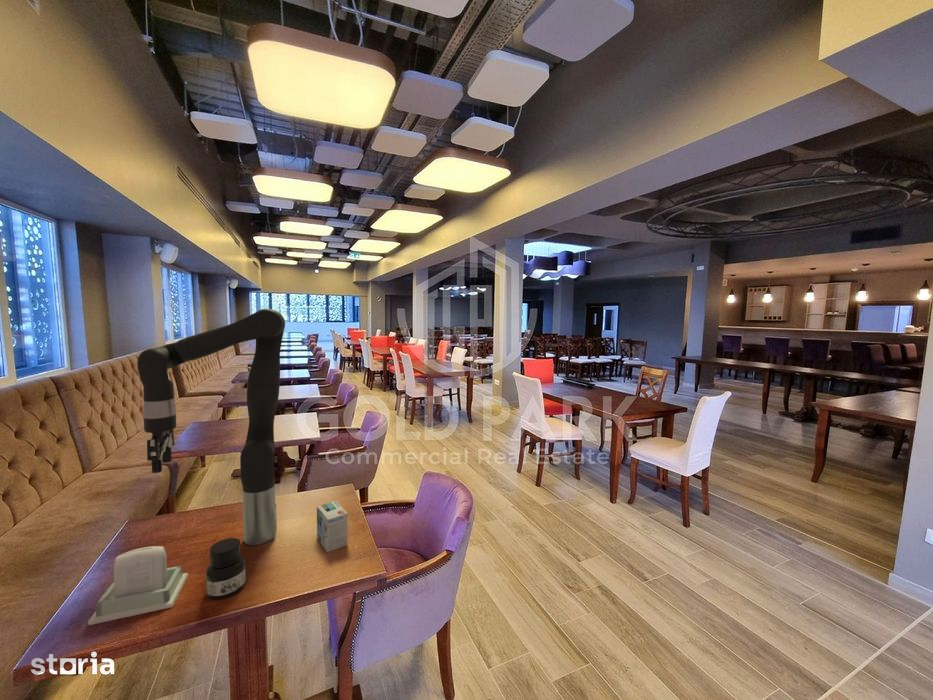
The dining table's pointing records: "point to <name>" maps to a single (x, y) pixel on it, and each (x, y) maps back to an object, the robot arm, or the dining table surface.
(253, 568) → the dining table surface
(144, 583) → the photo printer
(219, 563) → the ink bottle
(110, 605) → the printer dock
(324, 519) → the light bulb box
